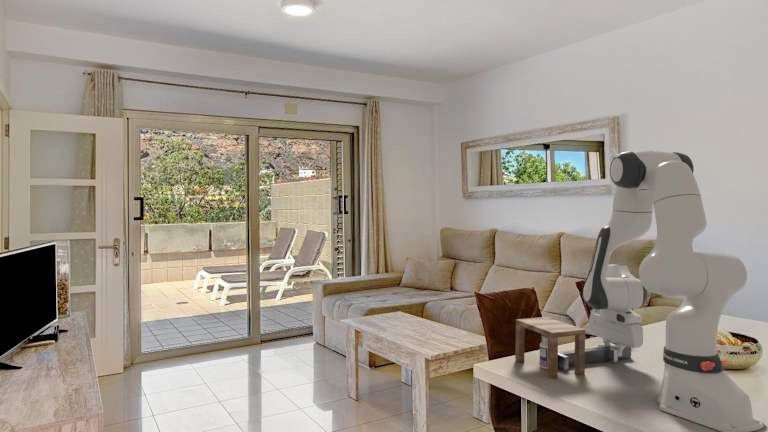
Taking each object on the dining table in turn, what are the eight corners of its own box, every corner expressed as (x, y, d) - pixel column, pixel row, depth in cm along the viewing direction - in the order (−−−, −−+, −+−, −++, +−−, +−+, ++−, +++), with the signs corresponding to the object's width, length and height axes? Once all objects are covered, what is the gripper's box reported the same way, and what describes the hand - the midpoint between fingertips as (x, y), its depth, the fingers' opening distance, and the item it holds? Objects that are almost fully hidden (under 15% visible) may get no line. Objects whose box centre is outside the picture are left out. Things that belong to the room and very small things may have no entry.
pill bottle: (557, 365, 158) (557, 334, 158) (558, 370, 153) (558, 339, 152) (539, 363, 159) (539, 333, 159) (539, 369, 154) (540, 337, 154)
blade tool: (637, 360, 163) (637, 348, 163) (564, 370, 153) (564, 357, 153) (618, 353, 171) (618, 342, 170) (547, 362, 161) (547, 350, 160)
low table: (584, 374, 149) (585, 329, 149) (551, 378, 145) (552, 332, 145) (545, 357, 166) (546, 316, 166) (515, 360, 162) (515, 319, 162)
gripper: (584, 307, 173) (583, 346, 173) (631, 319, 154) (630, 364, 154) (598, 306, 175) (597, 345, 176) (647, 318, 156) (646, 362, 156)
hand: (613, 354), depth 165 cm, fingers closed on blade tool, 2 cm apart
